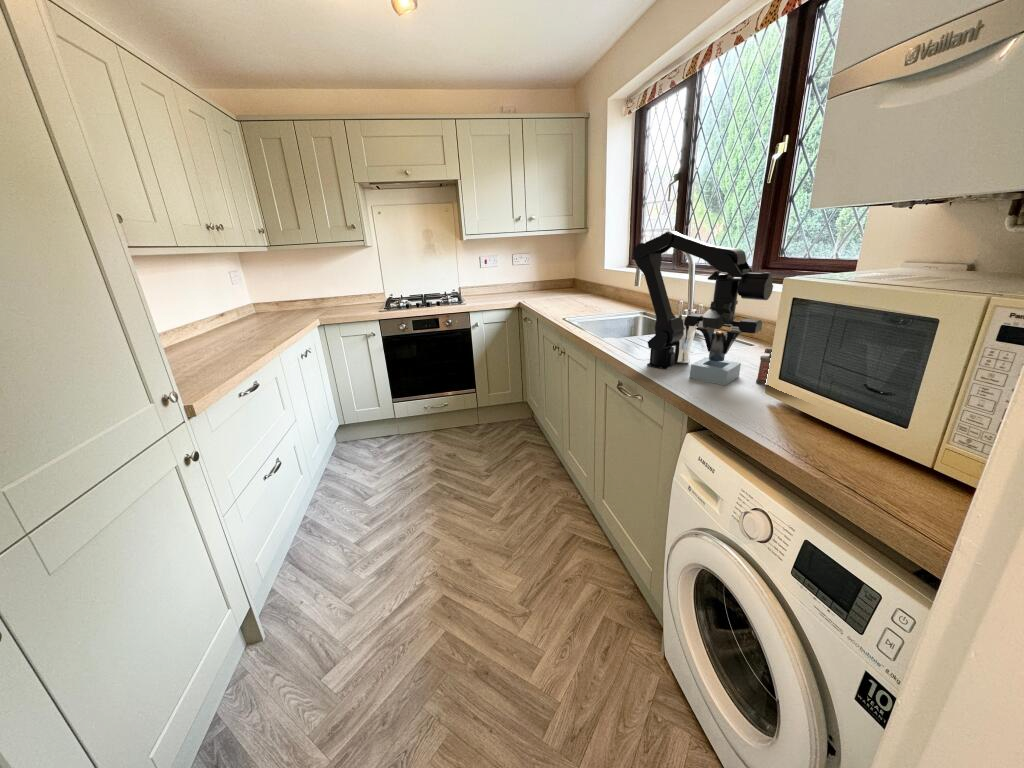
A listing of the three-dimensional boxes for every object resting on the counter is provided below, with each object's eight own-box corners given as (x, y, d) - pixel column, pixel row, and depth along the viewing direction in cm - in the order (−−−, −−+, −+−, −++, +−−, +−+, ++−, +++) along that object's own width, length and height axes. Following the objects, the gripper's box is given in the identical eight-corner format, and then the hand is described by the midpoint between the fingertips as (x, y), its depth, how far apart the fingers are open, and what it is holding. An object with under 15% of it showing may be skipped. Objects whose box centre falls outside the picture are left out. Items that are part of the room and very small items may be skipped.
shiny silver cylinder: (687, 360, 132) (693, 315, 129) (693, 363, 125) (700, 315, 122) (665, 359, 133) (671, 314, 130) (671, 362, 126) (676, 314, 123)
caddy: (689, 377, 115) (691, 364, 114) (703, 369, 122) (705, 357, 120) (725, 385, 108) (727, 371, 107) (738, 376, 115) (741, 363, 113)
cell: (706, 359, 113) (710, 332, 111) (711, 356, 116) (715, 329, 113) (720, 362, 110) (725, 334, 108) (726, 359, 113) (730, 331, 110)
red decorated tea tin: (790, 384, 107) (798, 349, 104) (790, 388, 104) (798, 352, 101) (756, 380, 111) (762, 346, 108) (755, 384, 109) (761, 348, 105)
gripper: (678, 298, 109) (672, 353, 114) (753, 303, 96) (742, 365, 101) (695, 293, 116) (689, 345, 121) (767, 298, 103) (757, 356, 108)
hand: (717, 352), depth 112 cm, fingers closed on cell, 4 cm apart
